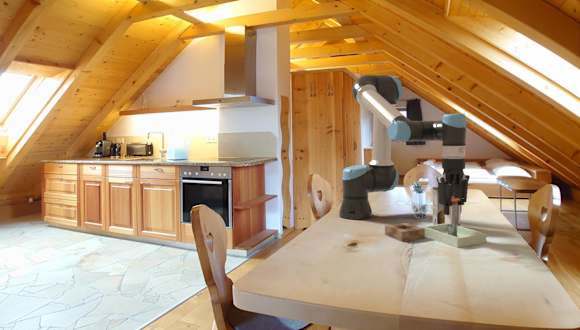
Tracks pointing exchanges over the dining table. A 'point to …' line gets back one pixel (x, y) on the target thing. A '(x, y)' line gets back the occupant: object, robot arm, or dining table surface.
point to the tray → (462, 239)
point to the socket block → (404, 232)
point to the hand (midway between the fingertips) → (452, 222)
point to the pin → (454, 217)
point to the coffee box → (438, 208)
